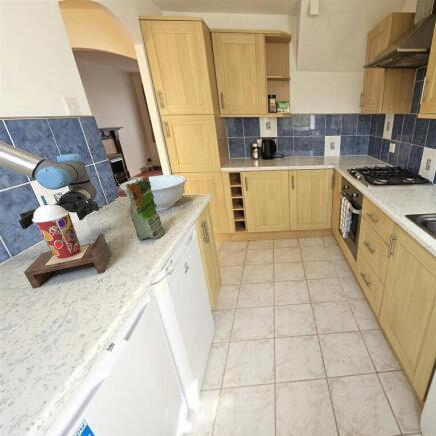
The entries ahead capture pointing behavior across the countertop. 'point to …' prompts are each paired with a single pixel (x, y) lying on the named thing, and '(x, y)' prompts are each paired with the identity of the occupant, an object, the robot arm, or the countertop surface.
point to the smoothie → (56, 229)
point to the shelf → (69, 261)
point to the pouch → (144, 210)
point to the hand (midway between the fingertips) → (51, 220)
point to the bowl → (163, 190)
